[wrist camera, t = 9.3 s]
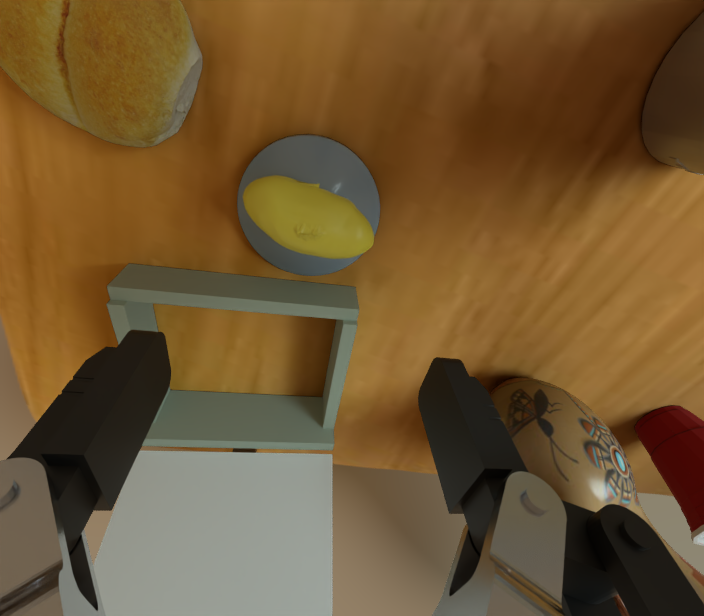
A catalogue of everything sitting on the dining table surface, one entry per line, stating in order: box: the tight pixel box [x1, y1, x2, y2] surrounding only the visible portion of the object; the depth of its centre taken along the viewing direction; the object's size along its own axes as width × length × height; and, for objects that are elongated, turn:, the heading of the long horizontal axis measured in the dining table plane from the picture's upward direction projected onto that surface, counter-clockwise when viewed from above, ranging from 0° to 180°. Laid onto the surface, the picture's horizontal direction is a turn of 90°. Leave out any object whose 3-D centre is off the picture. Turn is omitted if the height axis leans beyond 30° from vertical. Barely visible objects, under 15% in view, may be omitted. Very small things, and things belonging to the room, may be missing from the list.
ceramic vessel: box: [490, 378, 704, 616], centre depth 25 cm, size 16×9×25 cm, turn 62°
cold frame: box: [107, 263, 359, 450], centre depth 26 cm, size 14×16×5 cm
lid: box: [93, 450, 332, 616], centre depth 24 cm, size 14×16×1 cm
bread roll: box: [0, 0, 203, 148], centre depth 15 cm, size 8×9×4 cm
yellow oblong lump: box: [243, 175, 374, 259], centre depth 20 cm, size 4×8×4 cm, turn 62°
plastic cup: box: [635, 406, 704, 546], centre depth 36 cm, size 11×11×12 cm
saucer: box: [237, 134, 380, 276], centre depth 22 cm, size 9×9×1 cm
